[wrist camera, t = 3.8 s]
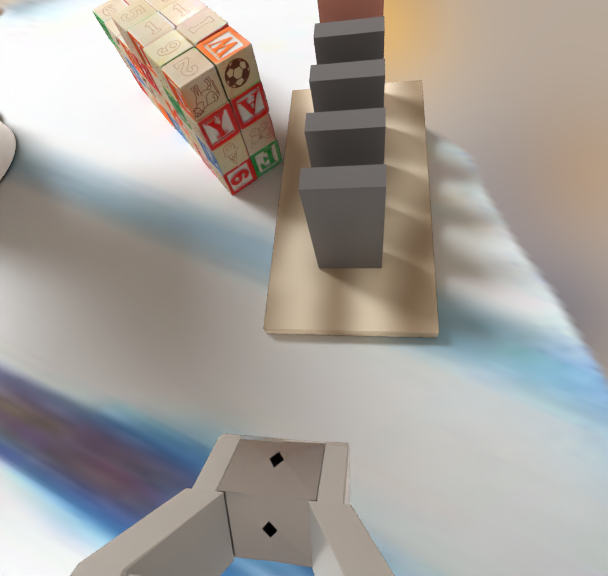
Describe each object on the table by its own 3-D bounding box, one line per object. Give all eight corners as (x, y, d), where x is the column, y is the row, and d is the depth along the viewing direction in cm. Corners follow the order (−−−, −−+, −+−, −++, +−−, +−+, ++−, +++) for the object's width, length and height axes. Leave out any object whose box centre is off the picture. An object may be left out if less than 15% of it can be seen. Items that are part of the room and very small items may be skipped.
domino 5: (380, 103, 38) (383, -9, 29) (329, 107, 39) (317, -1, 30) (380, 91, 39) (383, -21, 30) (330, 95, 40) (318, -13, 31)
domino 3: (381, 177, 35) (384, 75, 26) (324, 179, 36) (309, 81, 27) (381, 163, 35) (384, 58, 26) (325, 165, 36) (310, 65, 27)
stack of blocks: (140, 91, 47) (69, -26, 36) (184, 63, 48) (128, -59, 37) (233, 197, 38) (177, 86, 27) (285, 161, 39) (251, 39, 28)
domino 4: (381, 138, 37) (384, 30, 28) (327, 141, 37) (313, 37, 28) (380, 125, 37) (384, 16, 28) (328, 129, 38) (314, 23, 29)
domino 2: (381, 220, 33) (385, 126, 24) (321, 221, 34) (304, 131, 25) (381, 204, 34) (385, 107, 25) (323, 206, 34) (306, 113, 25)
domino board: (267, 333, 32) (263, 328, 30) (294, 100, 42) (292, 90, 41) (436, 337, 29) (439, 332, 28) (420, 90, 40) (422, 80, 39)
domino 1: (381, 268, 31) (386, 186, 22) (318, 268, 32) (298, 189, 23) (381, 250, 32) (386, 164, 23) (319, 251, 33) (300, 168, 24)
